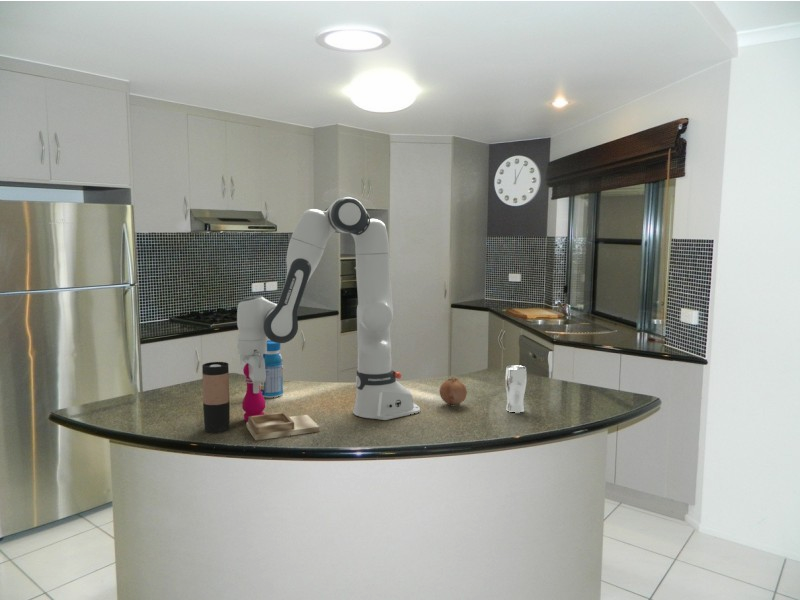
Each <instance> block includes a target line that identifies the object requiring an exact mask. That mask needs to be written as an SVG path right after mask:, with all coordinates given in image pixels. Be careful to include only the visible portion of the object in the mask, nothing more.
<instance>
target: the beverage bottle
mask: <svg viewBox="0 0 800 600" xmlns="http://www.w3.org/2000/svg"><path fill="white" fill-rule="evenodd" d="M280 351H281V343H275V342H273V341H271V340H270V339H269V340H267V353H265V354H263V358H264V361H265V372H266V380H265V382H262V383H260V390H261V393H262V395H263V397H264V398H268V399H269V398H270V399H271V398H273V397H274V398H278V396H279V397H281V396H283V394H284V384H283V383H284V382H283V379H284V378H283V371H284V365H283V359H284V358H283V356H282V354H281V353H280ZM274 398H273V399H274Z"/></svg>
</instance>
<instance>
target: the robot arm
mask: <svg viewBox="0 0 800 600" xmlns="http://www.w3.org/2000/svg"><path fill="white" fill-rule="evenodd" d="M334 233H338V234H350V235H351V236H352V237H353V240H354V244H355V245H354V246H355V251H354V253H355V273H356V274H355V275H356V289H357V290H356V291H357V308H356V327H357V328H356V330H357V333H356V334H357V335H356V336H357V370H356V374H355V375H356V377H355V383H356V384H355V385H356V395H355V396H356V397H355V401H354V407H353V410H352V413H353V414H354V416H357V417H360V418H365V419H373V420H374V419H375V420H380V421H381V420H382V421H387V420H388V421H389V420H391V419H396V418H397V419H398V418H400V417H406V416H409V415H410V414H411V415H414V413H415V414H418V412H419V413H420V412H421V407H420V406H419V405H417V403H415V402H414V398H413V394H412V392H411V391H410V390H409V389H407V387H405V386H404V385H402V384H401V383H400V382H399V381H397V379H399V380H400V379H401V378H402V377H403V374H402V372H399V371H395V370H392V342H391V341H392V339H391V325H392V322H393V319H394V305H393V304H394V303H393V302H394V301H393V292H392V291H393V290H392V281H391V261H390V260H391V259H390V257H391V256H390V252H391V251H390V243H389V242H390V241H389V235H388V230H387V227H386V224H385V223H384V222H383V221H381V220H379V219H377V218H371V217H370V215H369V213H368V211H367V210H366V208H365V207H364V205H363V204H362V202H361V201H360V200H359V199H357V198H354V197H353V196H352V197H351V196H345V197H341V198H340V197H339V198H338V199H336V200H335V201H333V202H332V203H331V205H329V206H328V207H327V208H326V209H325V210H320V209H317V208H310V209H306V210H305V211H303V213H302V214H301V216H300V217H299V219H298V221H297V223H296V225H295V227H294V228H293V232H292V234H291V237H290V240H289V243H288V247H287V252H286V258H285V259H286V262H285V263H286V277H285V282H284V284H283V287H282V290H281V292H280V296H279V300H278V302H277V303H275V302H272V301H270V300H269V299H267V298H265V297H264V296H262V295H251V296H247V297H244V298H242V299H241V300H240V301H239V303H238V305H237V310H236V311H237V312H236V322H237V323H236V326H237V329H238V336H237V354H238V355H239V360H240V366H241V370H242V371H243V369H244V366H245V365H246V364H247V363H248V364H249V365H248V367H249V378H250V379H251V380H252V382H253V387H252V389H253V393H254V394H256V393H259V386H260V387H261V383H262V382H265V380H266V372H265V361H264V358H263V354H265V353H267V339H269V340H271V341H273V342H275V343H280V344H286V343H288V342H290V341H292V340H293V339H294V338H295V336H296V335H297V333H298V329H299V323H298V311H299V308H300V306H301V305H300V304H301V302H302V299H303V296H304V293H305V290H306V287H307V285H308V282H309V280H310V279H311V277H312V275H313V273H314V272H315V270H316V269H317V267H318V265H319V263H320V261H321V259H322V257H323V254H324V252H325V249H326V246H327V243H328V240H329V239H330V237H331V235H332V234H334Z"/></svg>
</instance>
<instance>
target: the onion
mask: <svg viewBox="0 0 800 600" xmlns="http://www.w3.org/2000/svg"><path fill="white" fill-rule="evenodd" d="M467 392H468V391H467V388H466V385H465V384H464V383H463V381H460V380H459V379H458V378H457V377H454V376H453V377H451V378H448V379H446V380H444V381H443V383H442V384H441V385H440V387H439V396H440V398H441V400H442V401H443V402H444V403H445V404H447V405H448V406H452V407H453V405H454V406H457V405H459V404H460V405H461V403H462V402H464V401H466V398H467V395H468V393H467Z"/></svg>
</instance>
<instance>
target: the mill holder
mask: <svg viewBox="0 0 800 600" xmlns="http://www.w3.org/2000/svg"><path fill="white" fill-rule="evenodd" d="M246 428H247V430H248V431H249V433H250V434H251V436H252V437H253V439H254V441H262V440H268V439H269V440H270V439H274V438H275V439H276V438H283V437H289V436H290V435H291V436H297V435H304V434H311V433H317V432H320V425H319V424H318V423H316V422H315V421H314V420H313V419H312V418H311V417H310V416H309V415H308V414H301V415H299V414H298V415H293V416H289V415H288V414H287V413H286V412H285V411H283V412H281V411H280V412H276V413H267V414H264V415H258V416H250V417H248V421H246ZM291 436H290V437H291Z"/></svg>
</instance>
